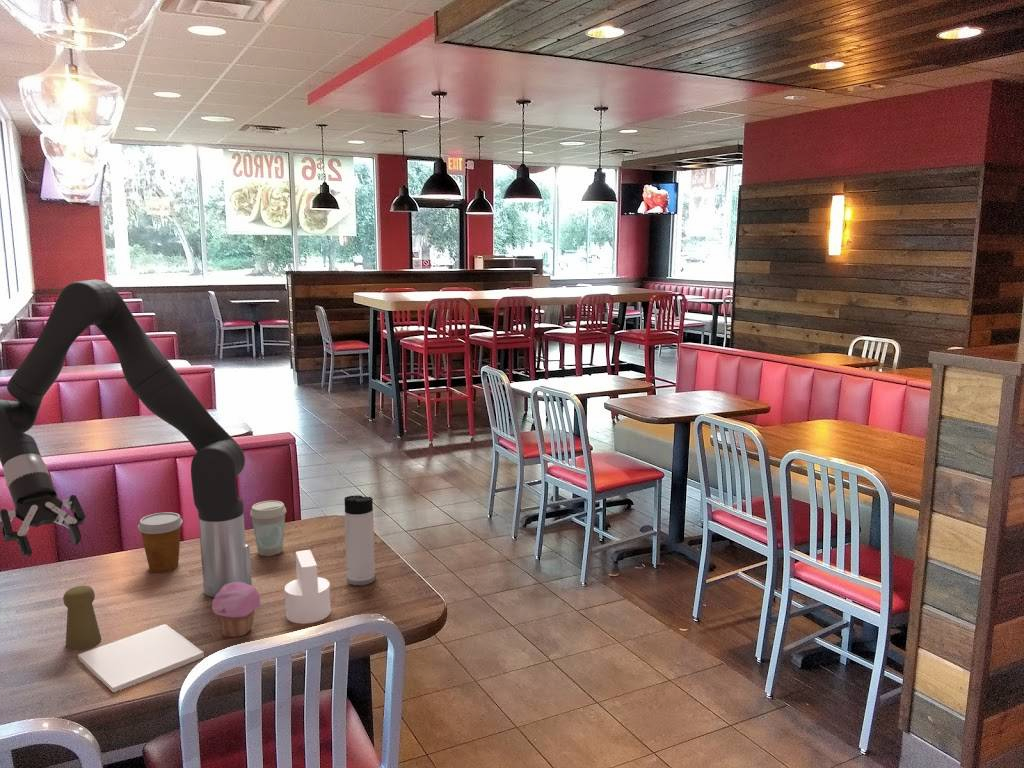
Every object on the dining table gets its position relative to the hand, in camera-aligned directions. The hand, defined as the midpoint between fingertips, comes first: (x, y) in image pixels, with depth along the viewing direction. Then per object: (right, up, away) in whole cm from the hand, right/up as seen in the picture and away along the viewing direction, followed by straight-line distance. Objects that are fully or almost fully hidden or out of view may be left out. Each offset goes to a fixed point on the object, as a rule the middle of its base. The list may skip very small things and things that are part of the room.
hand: (53, 549), depth 154 cm
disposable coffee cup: (+8, -11, +30) cm, 33 cm away
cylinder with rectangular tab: (+48, -15, +7) cm, 51 cm away
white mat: (+22, -18, -11) cm, 31 cm away
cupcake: (+37, -16, -1) cm, 40 cm away
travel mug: (+56, -12, +23) cm, 62 cm away
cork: (+9, -17, -5) cm, 20 cm away
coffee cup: (+31, -9, +39) cm, 51 cm away
